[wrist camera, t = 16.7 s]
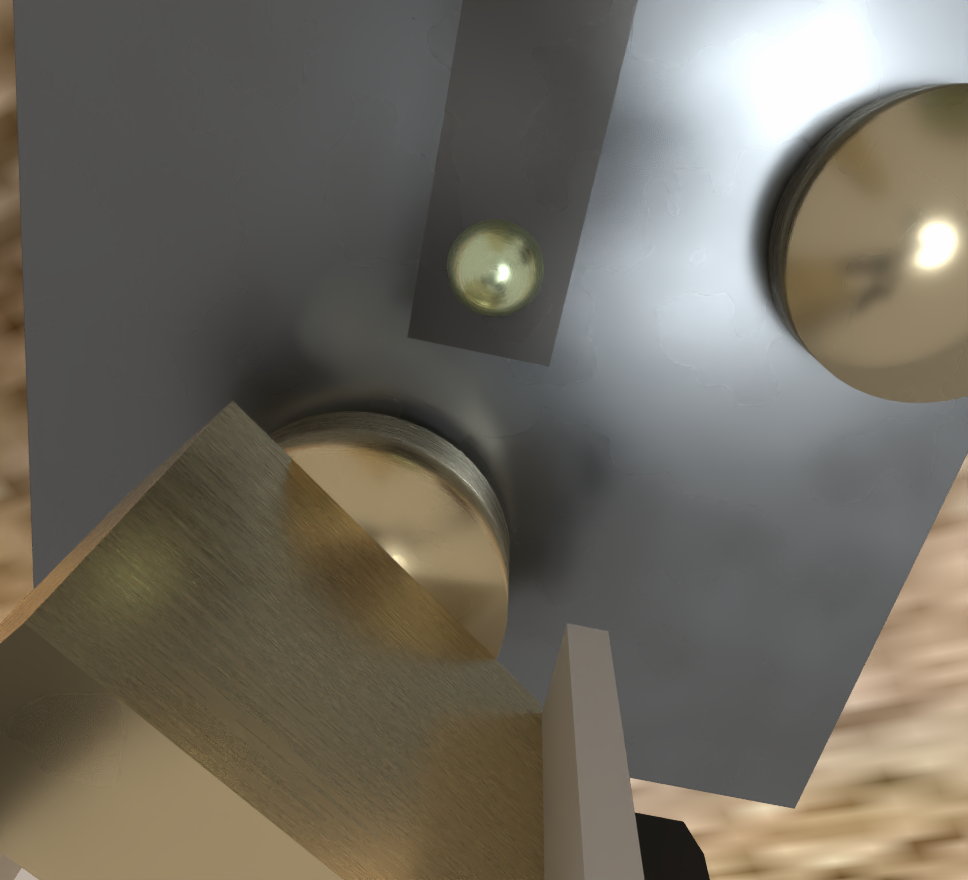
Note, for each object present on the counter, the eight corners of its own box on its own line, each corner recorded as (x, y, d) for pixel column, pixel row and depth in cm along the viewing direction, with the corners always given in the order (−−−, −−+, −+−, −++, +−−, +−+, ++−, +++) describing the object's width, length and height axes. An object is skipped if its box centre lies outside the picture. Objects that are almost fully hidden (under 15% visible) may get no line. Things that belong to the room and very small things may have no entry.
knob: (120, 494, 16) (-258, 873, 9) (329, 308, 15) (96, 567, 7) (390, 736, 19) (289, 1214, 11) (600, 599, 17) (664, 1052, 9)
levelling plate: (69, -1086, 10) (-216, -1812, 6) (1437, -732, 11) (1951, -1193, 7) (80, 613, 20) (-24, 735, 17) (771, 746, 21) (825, 892, 17)
